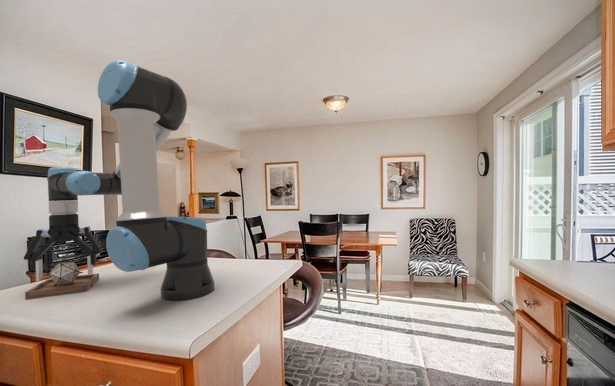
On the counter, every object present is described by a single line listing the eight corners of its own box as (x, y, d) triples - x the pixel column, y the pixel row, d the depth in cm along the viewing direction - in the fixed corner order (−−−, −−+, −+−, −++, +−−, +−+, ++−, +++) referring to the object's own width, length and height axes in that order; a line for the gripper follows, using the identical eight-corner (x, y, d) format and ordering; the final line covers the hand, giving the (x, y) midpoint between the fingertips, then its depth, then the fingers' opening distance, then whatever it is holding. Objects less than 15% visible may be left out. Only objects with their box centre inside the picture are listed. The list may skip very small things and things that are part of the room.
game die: (66, 297, 94) (58, 277, 89) (45, 287, 96) (35, 268, 90) (91, 277, 102) (84, 258, 96) (71, 268, 103) (63, 249, 97)
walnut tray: (86, 291, 92) (86, 284, 92) (25, 299, 86) (25, 292, 86) (99, 279, 106) (98, 273, 106) (47, 285, 100) (46, 279, 100)
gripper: (110, 211, 104) (112, 269, 104) (20, 215, 95) (22, 279, 94) (105, 212, 98) (107, 274, 97) (8, 216, 88) (9, 286, 88)
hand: (65, 277), depth 96 cm, fingers open, 13 cm apart
